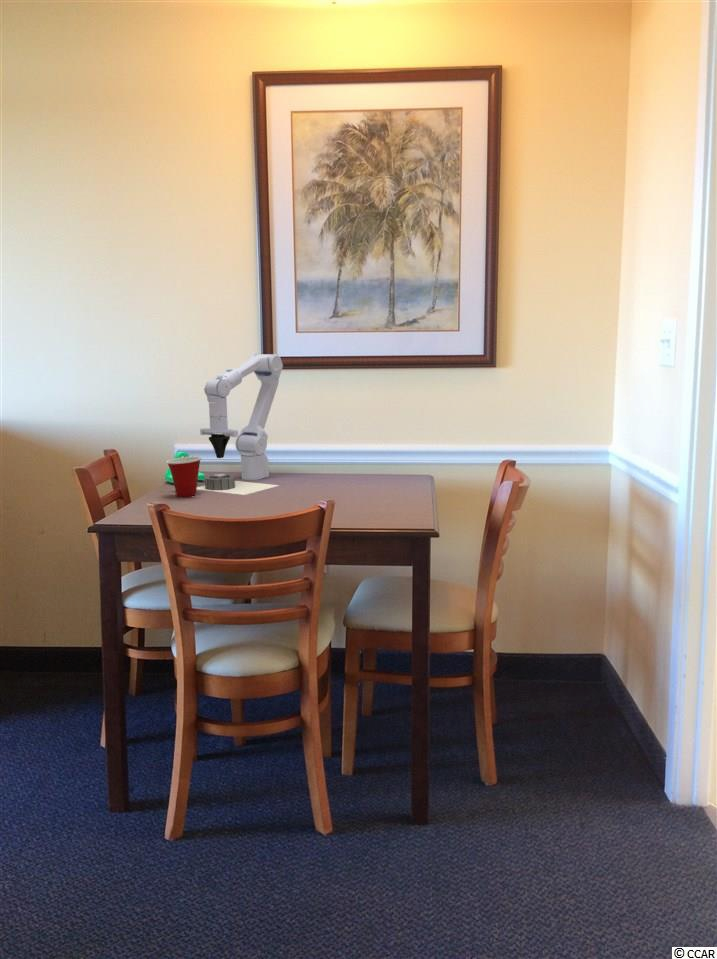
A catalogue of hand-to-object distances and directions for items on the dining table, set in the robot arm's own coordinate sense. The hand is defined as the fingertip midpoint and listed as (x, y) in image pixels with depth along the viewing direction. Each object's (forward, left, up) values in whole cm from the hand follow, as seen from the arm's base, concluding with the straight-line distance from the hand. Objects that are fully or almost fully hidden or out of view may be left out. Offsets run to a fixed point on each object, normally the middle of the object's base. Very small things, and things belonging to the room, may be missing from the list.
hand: (220, 457), depth 286 cm
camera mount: (-2, -18, -10) cm, 20 cm away
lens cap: (+4, +3, -9) cm, 10 cm away
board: (+1, +7, -10) cm, 12 cm away
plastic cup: (+17, 0, -10) cm, 20 cm away
